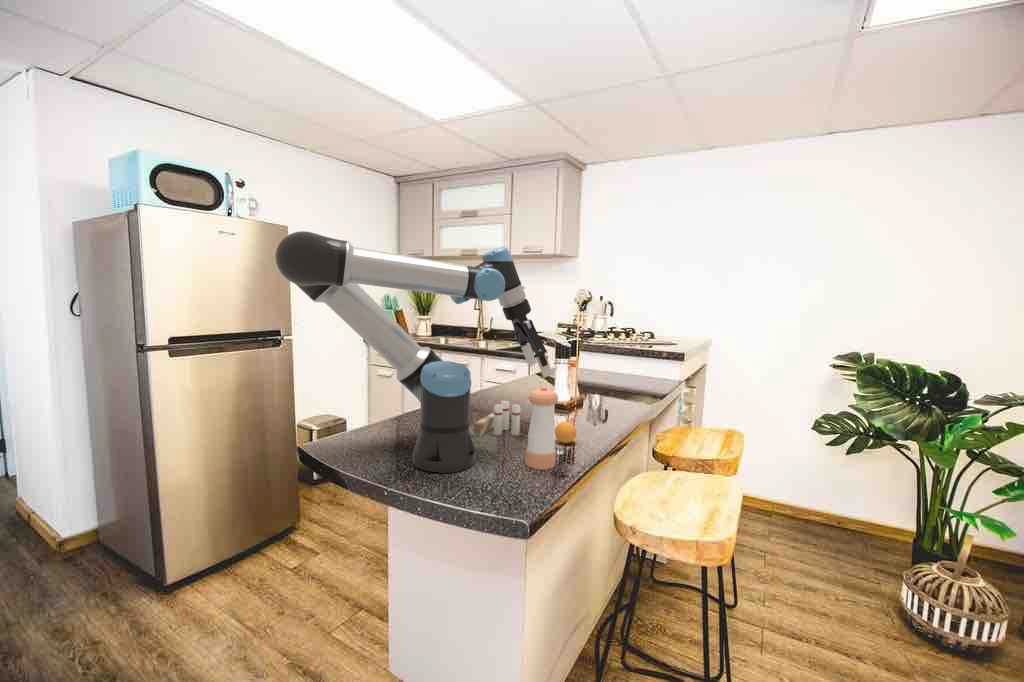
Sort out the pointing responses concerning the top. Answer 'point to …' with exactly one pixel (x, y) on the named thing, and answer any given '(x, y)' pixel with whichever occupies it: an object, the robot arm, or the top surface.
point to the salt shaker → (542, 430)
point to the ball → (565, 432)
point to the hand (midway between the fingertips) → (540, 369)
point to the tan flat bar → (483, 425)
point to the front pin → (515, 420)
